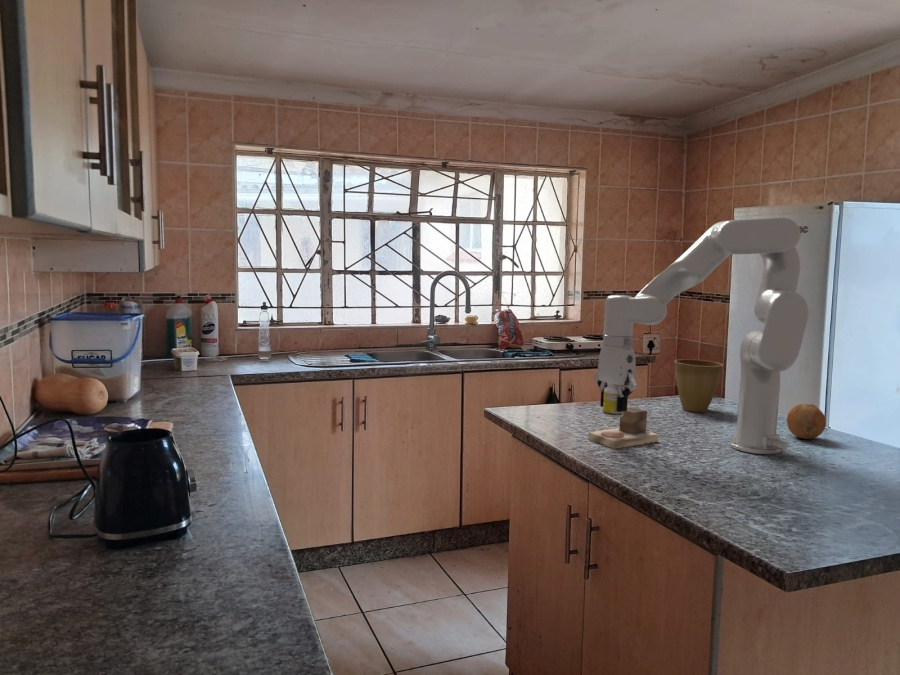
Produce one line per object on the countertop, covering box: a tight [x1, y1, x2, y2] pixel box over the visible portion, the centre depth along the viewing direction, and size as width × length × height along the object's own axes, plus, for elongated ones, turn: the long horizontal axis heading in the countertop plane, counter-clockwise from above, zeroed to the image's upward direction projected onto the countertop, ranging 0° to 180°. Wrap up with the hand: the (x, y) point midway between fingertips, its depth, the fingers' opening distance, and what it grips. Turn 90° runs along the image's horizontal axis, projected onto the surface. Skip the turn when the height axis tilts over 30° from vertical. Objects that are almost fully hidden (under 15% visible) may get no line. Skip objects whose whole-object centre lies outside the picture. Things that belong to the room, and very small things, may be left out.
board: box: [587, 427, 659, 450], centre depth 182 cm, size 10×16×2 cm, turn 120°
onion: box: [786, 403, 827, 440], centre depth 188 cm, size 10×10×10 cm
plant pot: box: [674, 358, 724, 413], centre depth 220 cm, size 15×15×16 cm
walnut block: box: [618, 406, 648, 434], centre depth 183 cm, size 5×5×6 cm
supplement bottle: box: [602, 382, 624, 418], centre depth 179 cm, size 5×5×10 cm
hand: (613, 408), depth 179 cm, fingers closed on supplement bottle, 5 cm apart
